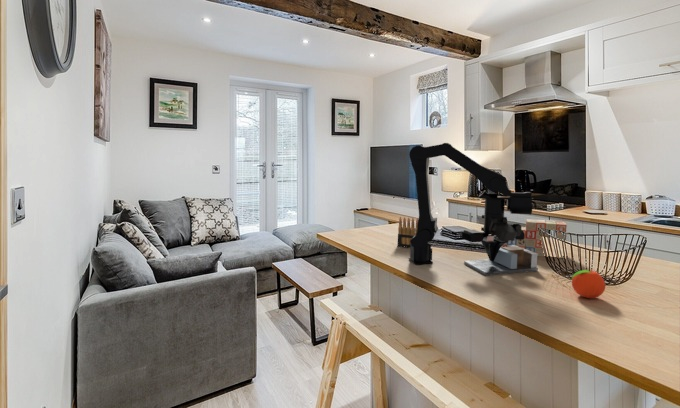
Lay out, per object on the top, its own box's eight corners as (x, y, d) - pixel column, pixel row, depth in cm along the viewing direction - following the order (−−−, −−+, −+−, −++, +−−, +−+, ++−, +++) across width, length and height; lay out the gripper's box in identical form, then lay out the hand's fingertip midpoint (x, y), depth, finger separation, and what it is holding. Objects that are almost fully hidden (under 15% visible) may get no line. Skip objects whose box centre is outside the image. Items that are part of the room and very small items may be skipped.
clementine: (578, 303, 85) (580, 275, 84) (560, 292, 92) (562, 266, 91) (611, 302, 85) (613, 274, 84) (590, 291, 92) (593, 265, 91)
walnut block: (509, 265, 111) (509, 250, 110) (501, 261, 115) (501, 247, 114) (523, 264, 112) (523, 249, 111) (514, 260, 116) (515, 246, 115)
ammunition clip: (397, 246, 142) (397, 217, 140) (399, 245, 143) (399, 216, 142) (422, 249, 136) (423, 219, 134) (424, 248, 138) (424, 218, 136)
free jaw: (510, 269, 107) (511, 254, 106) (489, 258, 118) (490, 245, 117) (516, 268, 107) (517, 254, 107) (494, 258, 118) (495, 245, 118)
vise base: (485, 275, 105) (485, 258, 104) (464, 263, 117) (464, 247, 116) (537, 271, 108) (538, 253, 108) (512, 260, 120) (512, 244, 119)
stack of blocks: (497, 252, 130) (498, 219, 129) (498, 248, 136) (499, 217, 134) (564, 259, 120) (567, 224, 119) (563, 254, 126) (565, 221, 124)
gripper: (482, 218, 100) (479, 270, 102) (539, 215, 104) (535, 266, 106) (461, 212, 111) (460, 259, 113) (514, 210, 114) (511, 256, 117)
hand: (491, 260), depth 112 cm, fingers closed
